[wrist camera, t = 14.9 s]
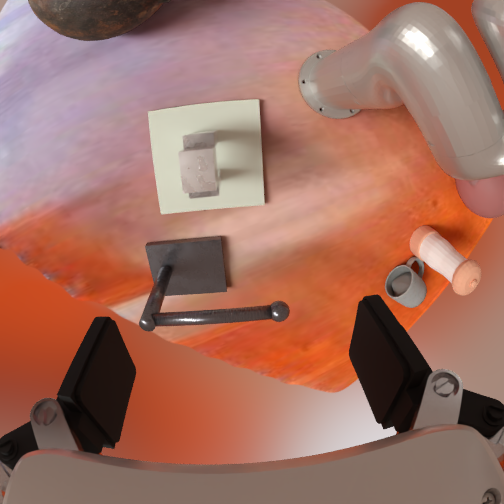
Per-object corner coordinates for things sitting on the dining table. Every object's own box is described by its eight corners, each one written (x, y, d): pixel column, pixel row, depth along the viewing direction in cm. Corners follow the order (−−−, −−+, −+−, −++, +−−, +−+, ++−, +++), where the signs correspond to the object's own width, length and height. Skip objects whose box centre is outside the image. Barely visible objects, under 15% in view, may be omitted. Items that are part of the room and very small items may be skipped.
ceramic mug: (399, 298, 62) (414, 317, 55) (379, 285, 59) (394, 304, 53) (426, 263, 58) (444, 280, 52) (408, 247, 56) (427, 263, 49)
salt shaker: (406, 255, 57) (455, 304, 39) (413, 224, 53) (470, 267, 36) (429, 255, 57) (479, 300, 40) (437, 225, 54) (492, 266, 37)
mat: (258, 99, 42) (259, 99, 41) (263, 203, 50) (264, 204, 49) (149, 111, 41) (147, 111, 40) (162, 212, 49) (161, 214, 48)
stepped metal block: (217, 130, 43) (211, 133, 30) (221, 180, 46) (217, 204, 34) (192, 132, 43) (176, 137, 30) (197, 182, 46) (184, 207, 34)
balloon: (444, 112, 43) (497, 119, 29) (490, 161, 48) (536, 178, 34) (418, 174, 49) (468, 196, 35) (467, 214, 53) (510, 241, 40)
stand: (273, 231, 52) (292, 283, 36) (274, 283, 57) (290, 344, 41) (147, 242, 51) (116, 295, 36) (159, 292, 56) (138, 353, 40)
